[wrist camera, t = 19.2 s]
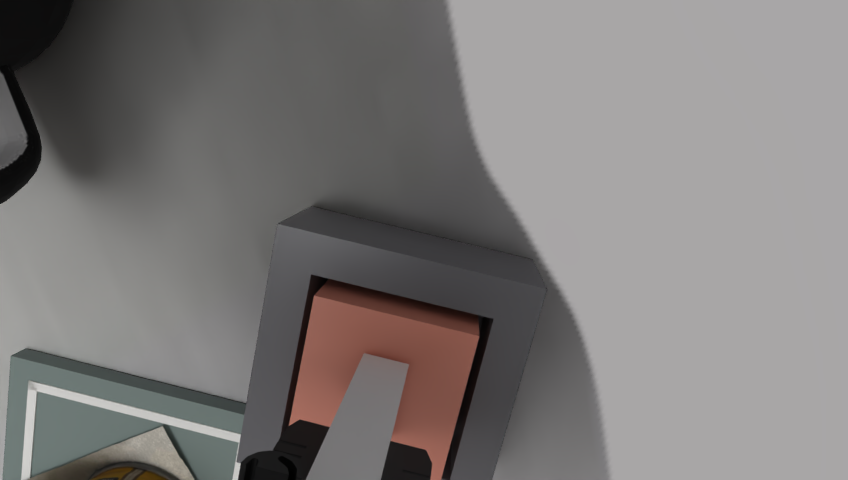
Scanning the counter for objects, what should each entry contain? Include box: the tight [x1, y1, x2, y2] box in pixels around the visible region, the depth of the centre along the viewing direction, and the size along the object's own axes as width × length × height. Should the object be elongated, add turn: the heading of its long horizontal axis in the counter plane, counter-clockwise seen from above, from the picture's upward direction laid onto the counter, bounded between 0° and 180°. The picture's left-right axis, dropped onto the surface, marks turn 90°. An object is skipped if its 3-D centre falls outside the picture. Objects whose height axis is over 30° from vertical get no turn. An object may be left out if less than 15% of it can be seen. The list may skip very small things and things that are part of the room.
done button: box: [289, 279, 479, 480], centre depth 19 cm, size 5×5×3 cm
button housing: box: [236, 206, 547, 480], centre depth 21 cm, size 9×9×4 cm
